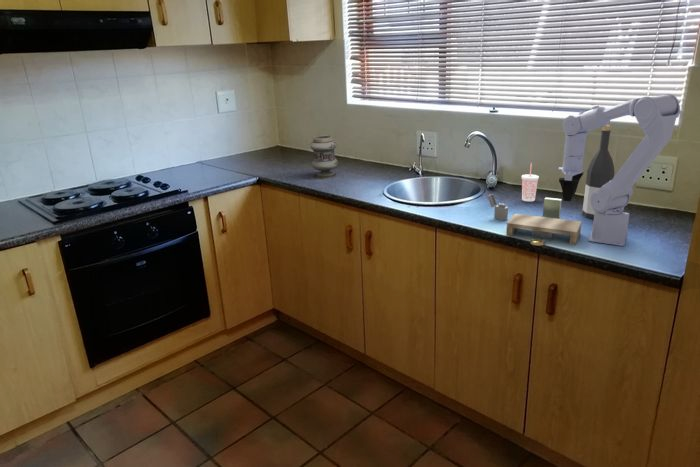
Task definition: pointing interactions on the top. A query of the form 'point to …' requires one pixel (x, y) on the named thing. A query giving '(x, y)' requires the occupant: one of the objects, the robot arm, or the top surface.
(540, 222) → the oak shelf
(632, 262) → the top surface
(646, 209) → the top surface
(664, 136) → the robot arm
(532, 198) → the beverage cup
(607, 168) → the wine bottle
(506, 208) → the lighter
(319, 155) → the apothecary jar
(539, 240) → the brass token
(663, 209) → the top surface
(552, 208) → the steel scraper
